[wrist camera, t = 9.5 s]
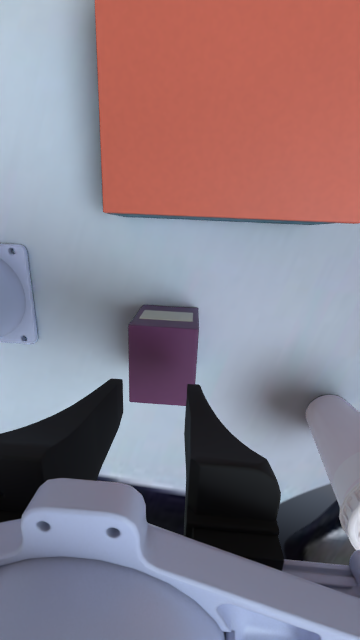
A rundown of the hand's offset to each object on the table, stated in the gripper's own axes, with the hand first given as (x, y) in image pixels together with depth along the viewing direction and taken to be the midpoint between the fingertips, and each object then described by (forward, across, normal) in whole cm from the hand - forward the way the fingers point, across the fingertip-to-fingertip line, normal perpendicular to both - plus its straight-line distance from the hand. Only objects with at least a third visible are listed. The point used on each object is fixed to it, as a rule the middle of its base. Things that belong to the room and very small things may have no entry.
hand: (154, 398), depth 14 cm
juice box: (+8, 0, 0) cm, 8 cm away
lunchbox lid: (+4, -3, -15) cm, 16 cm away
